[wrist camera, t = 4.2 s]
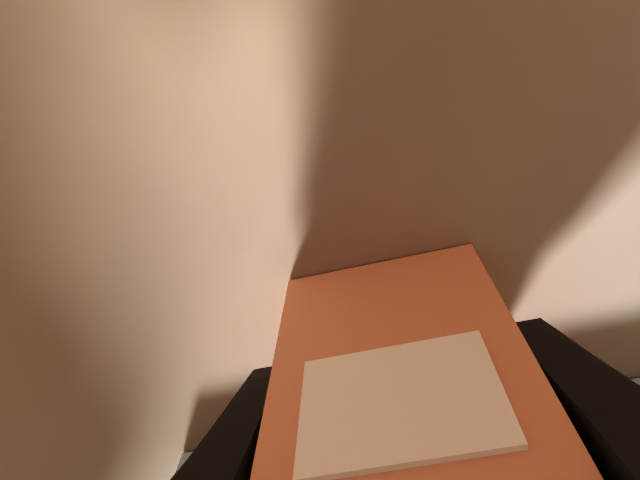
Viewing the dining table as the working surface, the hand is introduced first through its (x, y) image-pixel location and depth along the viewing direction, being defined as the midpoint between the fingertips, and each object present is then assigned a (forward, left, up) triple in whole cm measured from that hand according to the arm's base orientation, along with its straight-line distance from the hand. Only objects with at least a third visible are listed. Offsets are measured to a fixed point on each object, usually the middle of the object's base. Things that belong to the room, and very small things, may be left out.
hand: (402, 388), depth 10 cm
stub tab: (0, 0, -2) cm, 2 cm away
